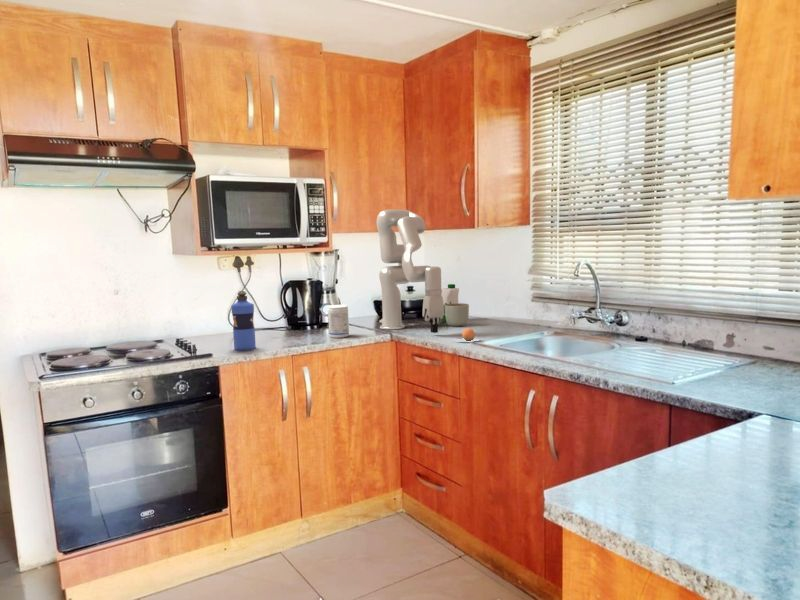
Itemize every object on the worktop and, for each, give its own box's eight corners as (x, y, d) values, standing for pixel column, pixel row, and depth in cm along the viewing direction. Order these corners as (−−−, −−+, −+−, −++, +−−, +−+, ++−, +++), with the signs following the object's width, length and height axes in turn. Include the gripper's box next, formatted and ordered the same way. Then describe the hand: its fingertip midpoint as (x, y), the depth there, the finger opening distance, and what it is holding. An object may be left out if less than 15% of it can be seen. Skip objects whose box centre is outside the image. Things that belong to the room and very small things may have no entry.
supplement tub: (330, 335, 275) (329, 304, 273) (350, 334, 275) (348, 304, 273) (327, 338, 265) (326, 307, 264) (348, 338, 265) (346, 306, 263)
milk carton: (461, 320, 309) (460, 284, 307) (451, 323, 302) (451, 285, 300) (448, 319, 315) (447, 283, 313) (438, 321, 308) (437, 285, 306)
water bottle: (234, 351, 239) (231, 292, 237) (232, 347, 248) (229, 290, 245) (257, 349, 243) (254, 291, 240) (254, 345, 251) (251, 289, 249)
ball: (464, 326, 246) (470, 336, 244) (473, 325, 250) (479, 335, 247) (457, 334, 250) (463, 344, 247) (466, 332, 253) (472, 342, 251)
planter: (461, 328, 285) (460, 306, 284) (440, 326, 292) (440, 305, 291) (473, 324, 295) (473, 303, 294) (453, 323, 302) (452, 302, 301)
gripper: (439, 291, 271) (439, 329, 273) (416, 294, 261) (417, 333, 263) (450, 292, 265) (451, 331, 267) (427, 295, 255) (428, 335, 257)
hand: (434, 332), depth 265 cm, fingers closed
